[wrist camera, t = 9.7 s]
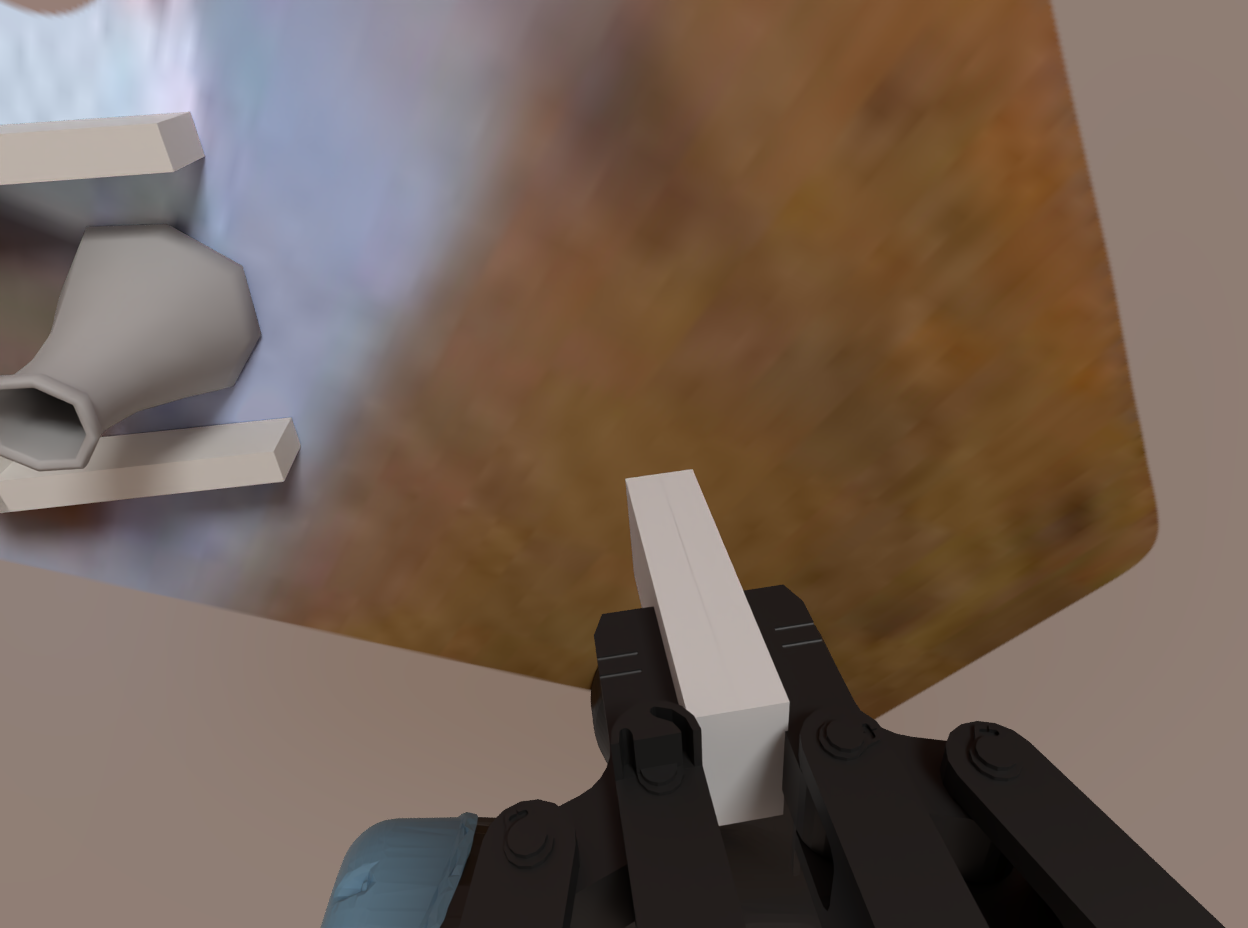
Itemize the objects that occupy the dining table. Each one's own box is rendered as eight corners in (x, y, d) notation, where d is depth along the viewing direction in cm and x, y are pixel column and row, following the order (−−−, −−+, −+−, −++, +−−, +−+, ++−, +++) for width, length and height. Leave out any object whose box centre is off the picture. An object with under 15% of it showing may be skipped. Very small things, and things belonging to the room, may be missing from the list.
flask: (270, 248, 29) (175, 346, 21) (256, 405, 33) (168, 544, 24) (61, 193, 27) (-137, 277, 19) (69, 367, 31) (-96, 503, 22)
